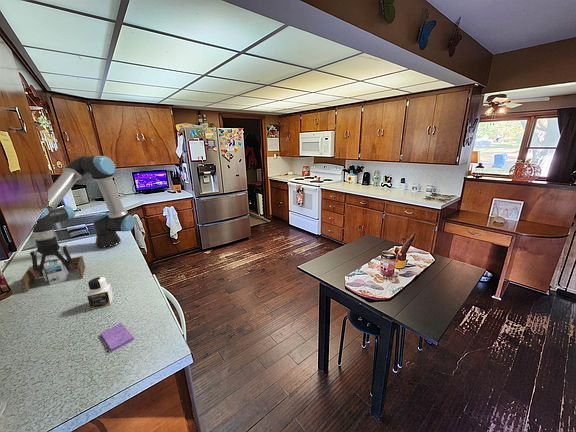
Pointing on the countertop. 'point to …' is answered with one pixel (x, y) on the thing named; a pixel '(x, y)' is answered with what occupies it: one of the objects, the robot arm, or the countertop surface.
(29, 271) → the walnut u-shaped bracket
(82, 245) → the countertop surface
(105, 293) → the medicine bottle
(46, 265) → the light bulb box
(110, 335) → the sponges
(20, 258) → the countertop surface
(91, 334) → the countertop surface
